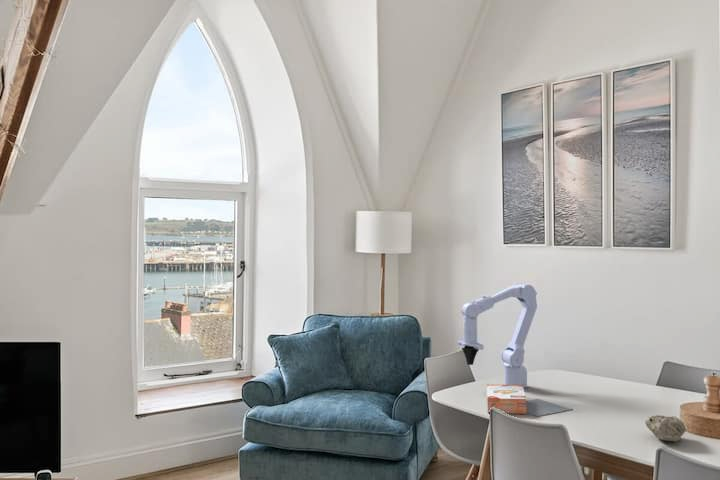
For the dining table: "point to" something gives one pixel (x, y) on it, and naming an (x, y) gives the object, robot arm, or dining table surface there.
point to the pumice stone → (666, 427)
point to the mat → (543, 407)
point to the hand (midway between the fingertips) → (470, 364)
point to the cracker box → (507, 398)
